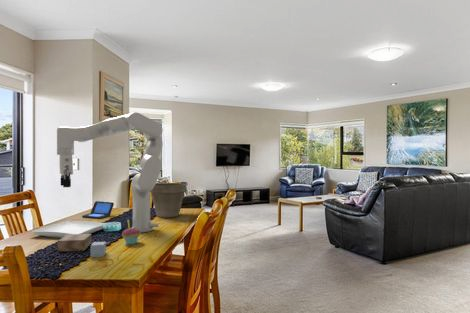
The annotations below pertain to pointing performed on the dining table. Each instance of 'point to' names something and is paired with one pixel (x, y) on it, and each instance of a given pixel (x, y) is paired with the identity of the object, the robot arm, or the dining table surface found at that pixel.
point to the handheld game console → (100, 210)
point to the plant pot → (168, 198)
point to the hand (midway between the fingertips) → (65, 186)
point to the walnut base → (74, 242)
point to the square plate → (69, 228)
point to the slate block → (98, 249)
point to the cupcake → (131, 234)
